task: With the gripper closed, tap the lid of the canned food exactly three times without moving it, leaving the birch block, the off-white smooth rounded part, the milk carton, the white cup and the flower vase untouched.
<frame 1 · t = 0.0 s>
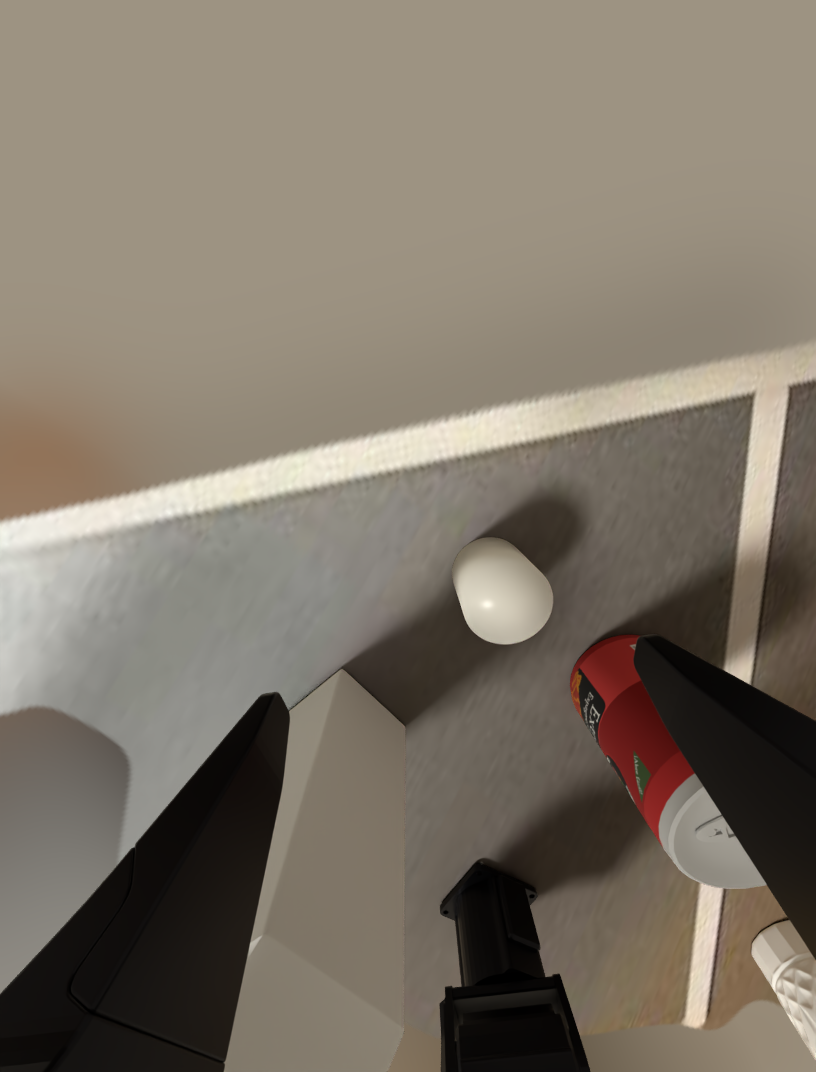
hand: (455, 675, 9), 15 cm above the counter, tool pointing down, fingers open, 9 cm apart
canned food: (618, 675, 27), on the counter
milk carton: (342, 720, 28), on the counter
off-white smooth rounded part: (488, 572, 25), on the counter
white cup: (784, 939, 35), on the counter
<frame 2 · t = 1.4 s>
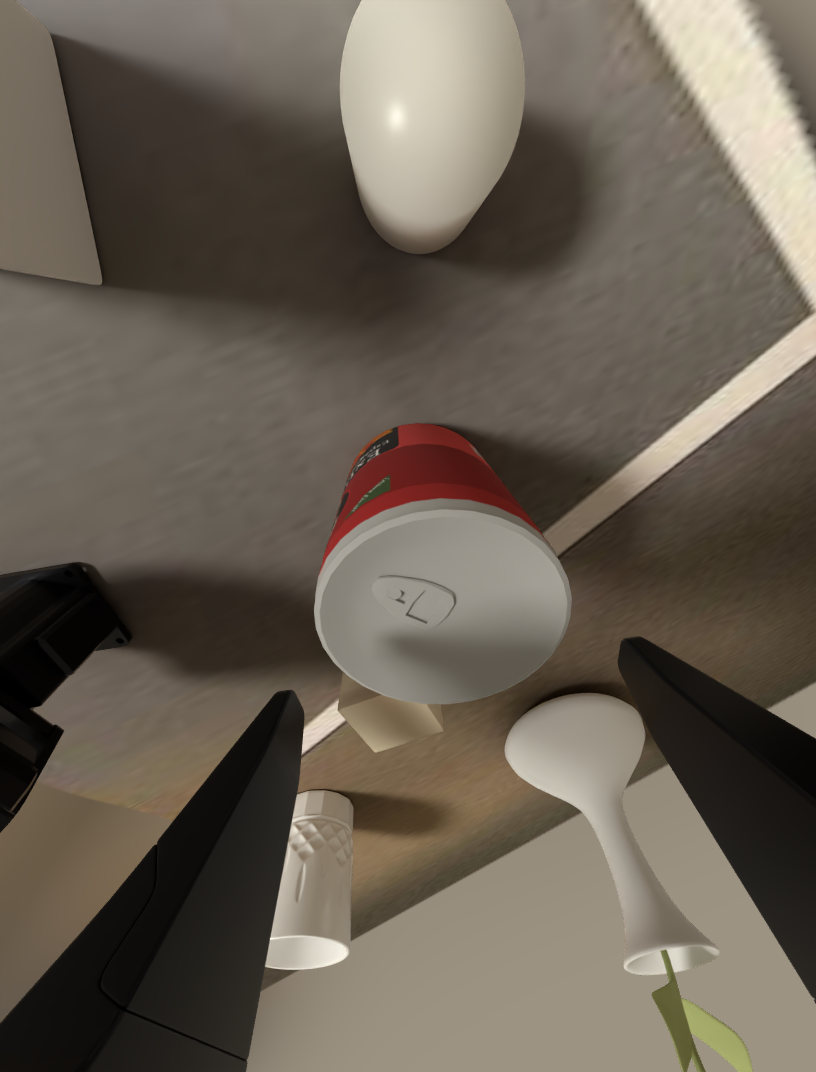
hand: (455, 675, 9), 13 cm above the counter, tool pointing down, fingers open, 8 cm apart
canned food: (418, 488, 21), on the counter
flower in vase: (561, 715, 31), on the counter
birch block: (392, 658, 27), on the counter
off-white smooth rounded part: (419, 174, 14), on the counter
white cup: (320, 804, 37), on the counter
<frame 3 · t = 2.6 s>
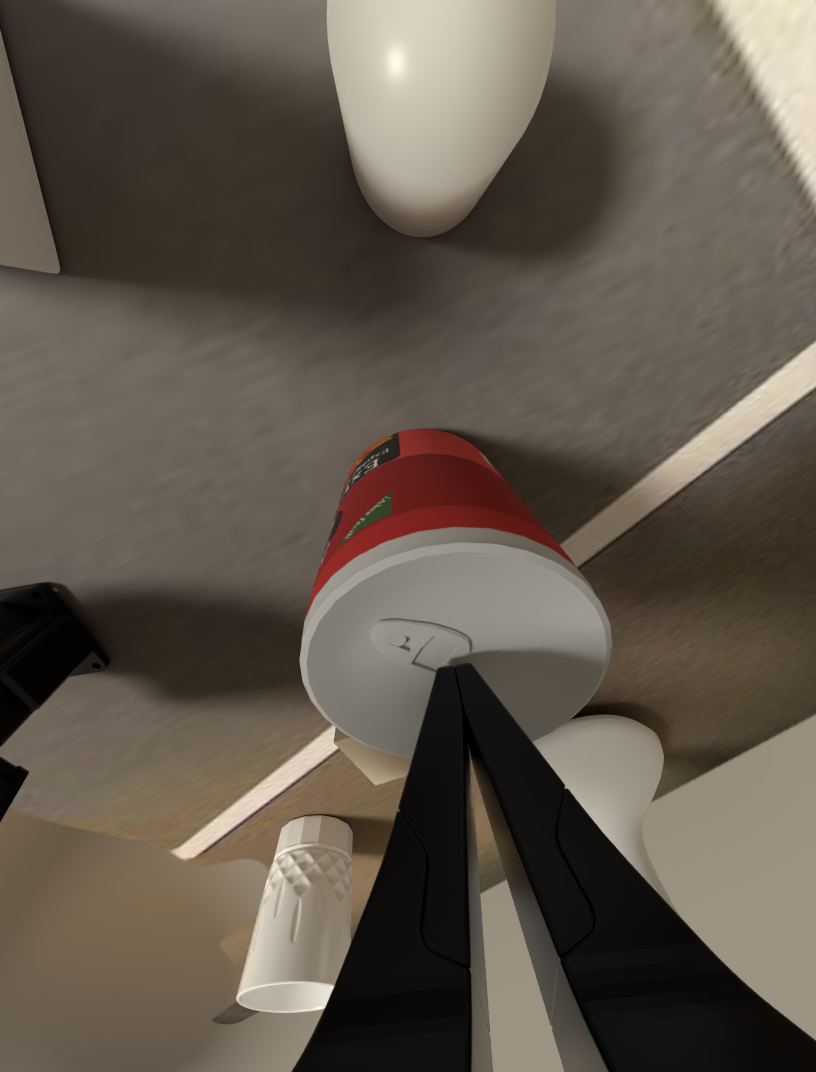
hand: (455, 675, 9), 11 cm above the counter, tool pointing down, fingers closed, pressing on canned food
canned food: (421, 499, 19), on the counter, touching gripper
flower in vase: (572, 736, 30), on the counter
birch block: (393, 680, 25), on the counter
off-white smooth rounded part: (422, 144, 12), on the counter
white cup: (317, 829, 35), on the counter
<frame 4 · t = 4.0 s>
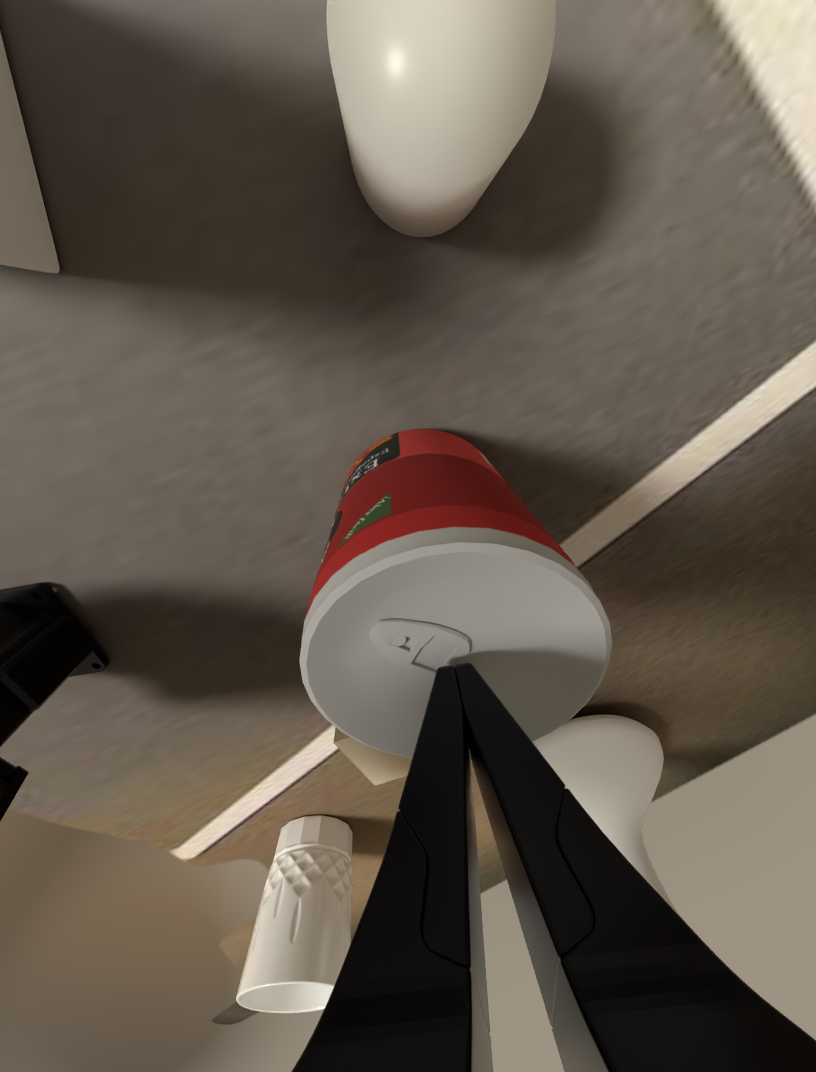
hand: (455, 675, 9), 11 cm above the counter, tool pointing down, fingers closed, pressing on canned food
canned food: (421, 499, 19), on the counter, touching gripper
flower in vase: (572, 736, 30), on the counter
birch block: (392, 680, 25), on the counter
off-white smooth rounded part: (422, 143, 12), on the counter
white cup: (317, 829, 35), on the counter
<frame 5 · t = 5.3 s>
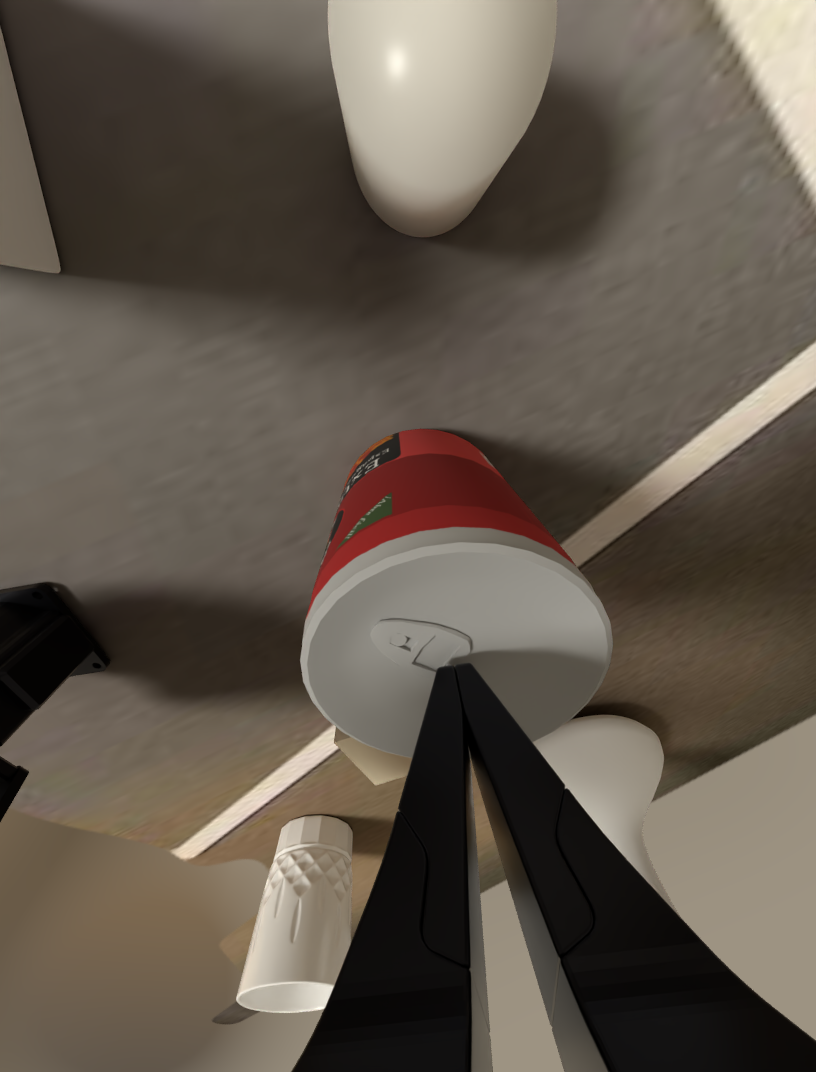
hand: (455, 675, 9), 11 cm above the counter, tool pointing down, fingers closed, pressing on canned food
canned food: (421, 499, 19), on the counter, touching gripper
flower in vase: (572, 736, 30), on the counter
birch block: (393, 680, 25), on the counter
off-white smooth rounded part: (423, 144, 12), on the counter
white cup: (317, 829, 35), on the counter
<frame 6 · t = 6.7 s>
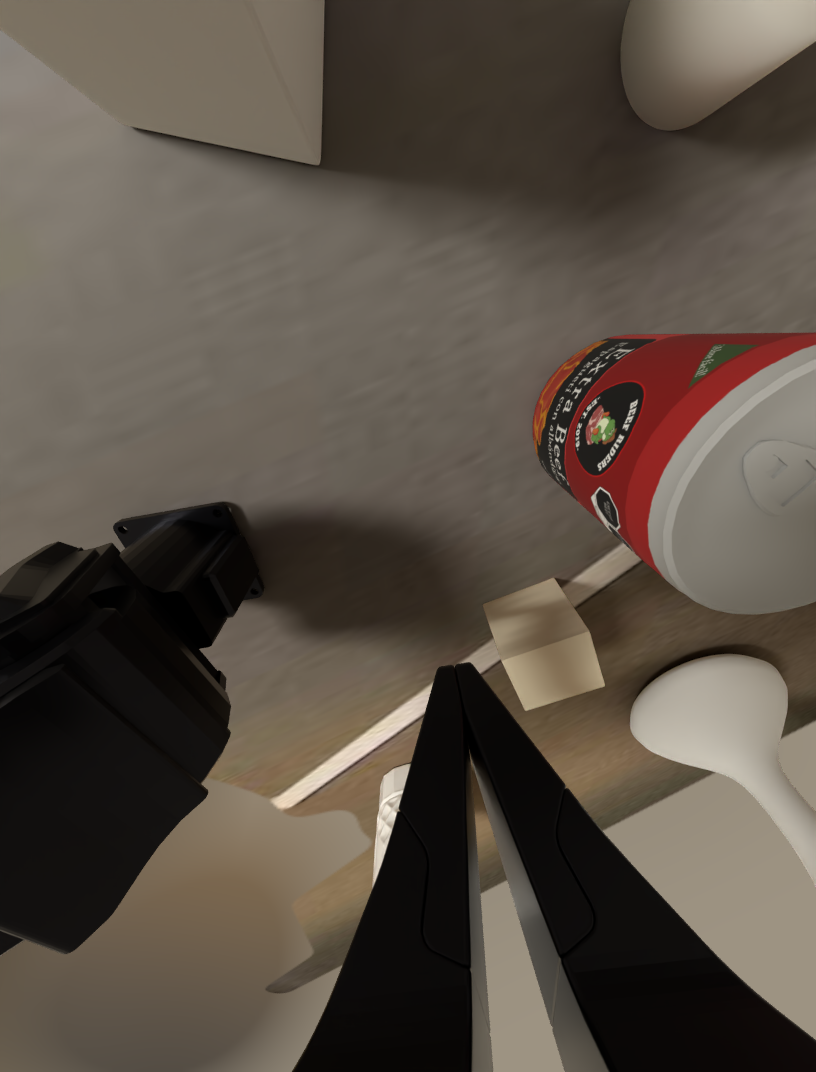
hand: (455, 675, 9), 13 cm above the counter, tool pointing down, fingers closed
canned food: (599, 417, 19), on the counter
flower in vase: (685, 682, 30), on the counter
milk carton: (218, 6, 12), on the counter
birch block: (527, 615, 26), on the counter
off-white smooth rounded part: (693, 29, 13), on the counter
white cup: (415, 779, 35), on the counter
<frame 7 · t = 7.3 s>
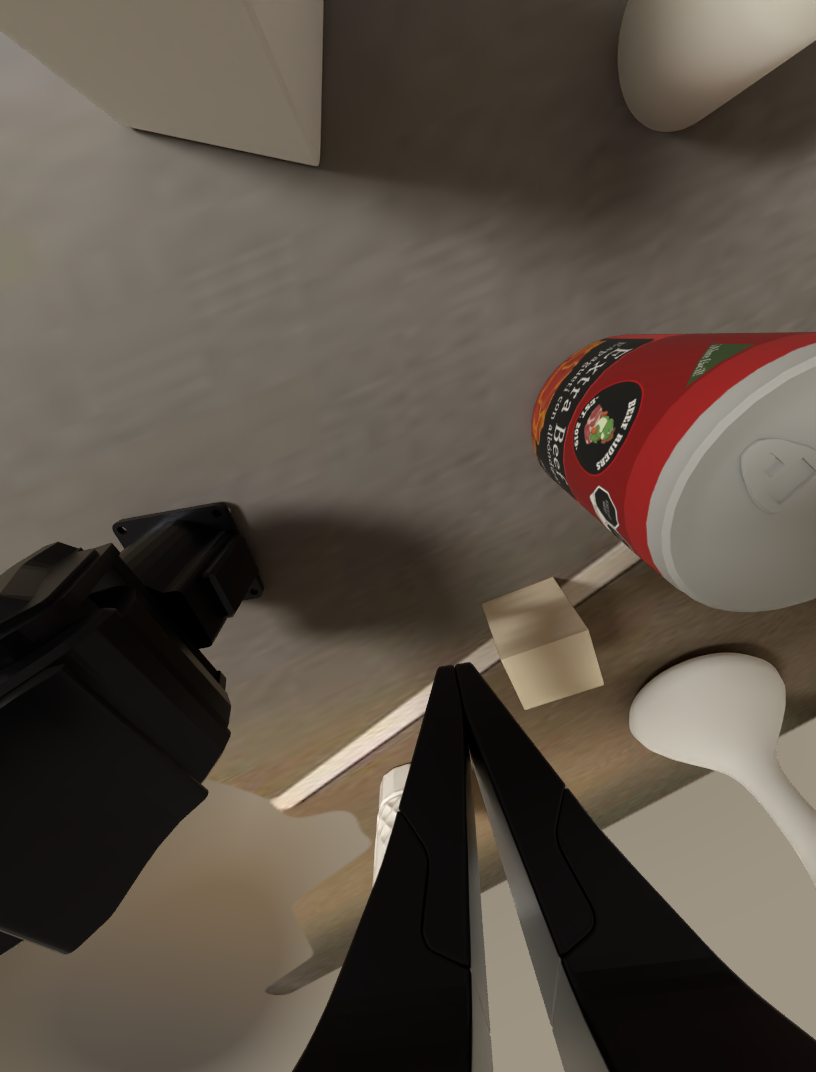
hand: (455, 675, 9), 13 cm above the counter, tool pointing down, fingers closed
canned food: (598, 417, 19), on the counter
flower in vase: (684, 680, 30), on the counter
milk carton: (217, 7, 12), on the counter
birch block: (526, 615, 26), on the counter
off-white smooth rounded part: (689, 32, 13), on the counter
white cup: (415, 779, 35), on the counter
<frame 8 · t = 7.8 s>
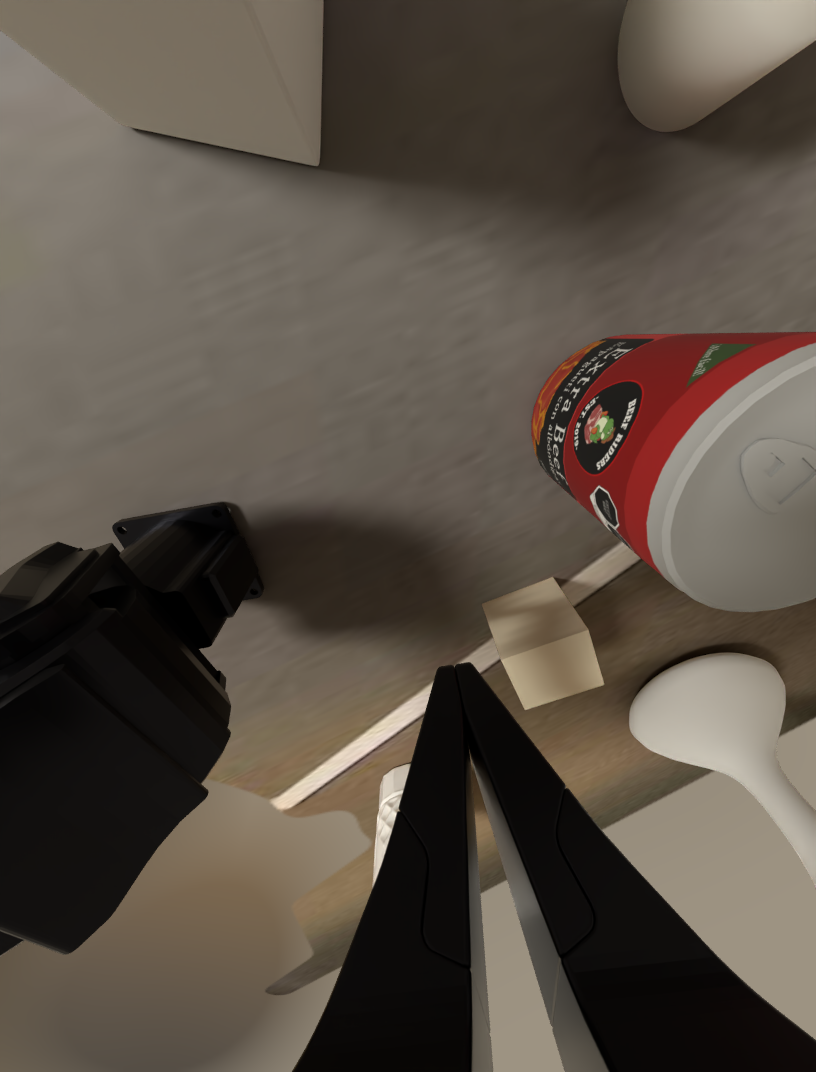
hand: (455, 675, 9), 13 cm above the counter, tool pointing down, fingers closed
canned food: (598, 417, 19), on the counter
flower in vase: (684, 680, 30), on the counter
milk carton: (217, 7, 12), on the counter
birch block: (526, 615, 26), on the counter
off-white smooth rounded part: (689, 32, 13), on the counter
white cup: (415, 779, 35), on the counter
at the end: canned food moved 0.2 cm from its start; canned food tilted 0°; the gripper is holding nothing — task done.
